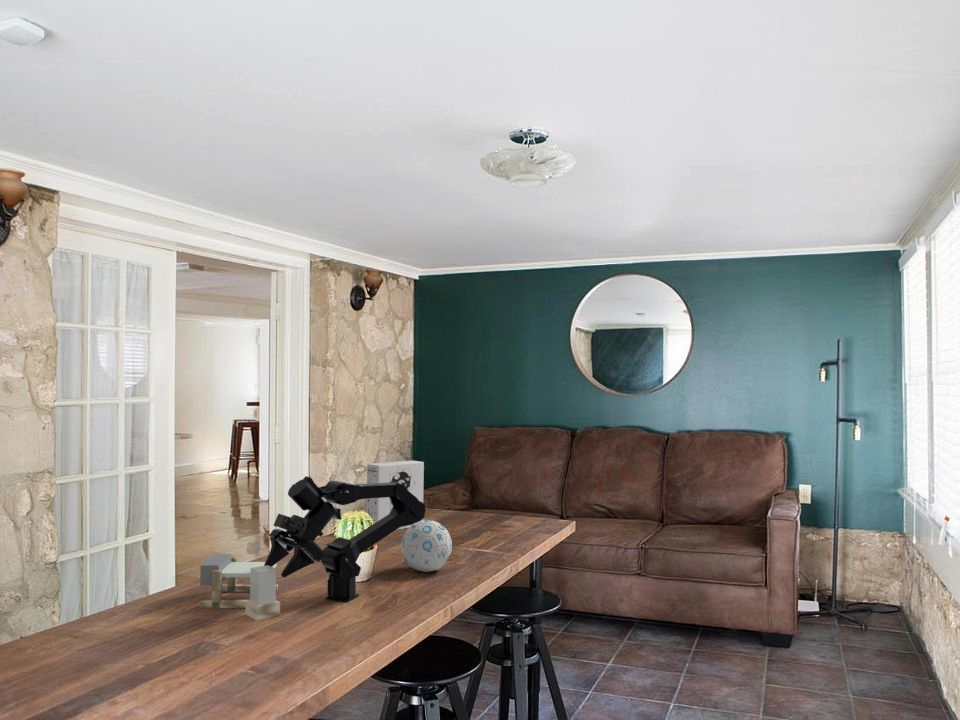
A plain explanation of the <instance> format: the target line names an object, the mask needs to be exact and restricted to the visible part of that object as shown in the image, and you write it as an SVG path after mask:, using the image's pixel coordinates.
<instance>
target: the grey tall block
mask: <svg viewBox="0 0 960 720" xmlns="http://www.w3.org/2000/svg"><path fill="white" fill-rule="evenodd" d="M249 580H250V582H249V583H250V592H249V600H250V602H252V603H254V604H256V605H258V606H259V605H264V604H269V603H274V602H276V601H277V592H276V584H277V568H276V567H275V568H273V567H271V566H268V565H266V566H260V567H254V568H251V571H250V577H249Z"/></svg>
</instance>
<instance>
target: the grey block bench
mask: <svg viewBox="0 0 960 720" xmlns="http://www.w3.org/2000/svg"><path fill="white" fill-rule="evenodd" d="M232 562H238V556H232ZM278 591H279V584H277V583H276V593H277V592H278ZM225 592H226V593H227V592H228V593H239V592H240V593H245V592H246V593H247V592H248V593H250V584H248V583H247V584H245V583H244V584H243V583H242V584H238V577H227V584H223V582H222V570H213V571H212V585H211V599H201V600H199V601H198V602H199V603H198V604H199V605H198V606H199V607H198V608H199V609H218V608H219V609H221V608H222V609H233V608H234V609H239V608H240V609H244V608H245V607H246V601H250V599H223V598H222V596H223V595H222V594H223V593H225Z"/></svg>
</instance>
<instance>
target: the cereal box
mask: <svg viewBox="0 0 960 720" xmlns="http://www.w3.org/2000/svg"><path fill="white" fill-rule="evenodd" d="M424 464H425V462H424V461H418V460H414V459H413V460H400V461H388V462H375V463H367V464H366V484H370V483H388V482H397V483H402V484H403V485H404V486H405V487H406V489H407V490H408V491H409V492H410V493H412V494H413V495H414V496H415V497H416V498H417V499H418V500H419V501H421V502H422V503H423V504H424V483H425V482H424V475H425V474H424V473H425V472H424V471H425V465H424ZM392 508H393V505H392V504H391V501H390V498H389V497H385V498H370V499H366V511H365V512H367V513H368V514H369V515H370V516H371V517H372V518H373V519H374V520H375V523H376V522H377V521H379V520H381V519H382V518H384V517H385V516H387V515H388V514H389V513H390V512H391V510H392ZM423 520H424V518H423V519H422V520H421V521H423ZM414 524H415V523H414ZM412 525H413V524H412ZM412 525H408V526H403V527H400V528H398V529H397V530H396V531H399V529H401V530H405V529H404V528H407V529H409V527H410V526H412Z"/></svg>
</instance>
